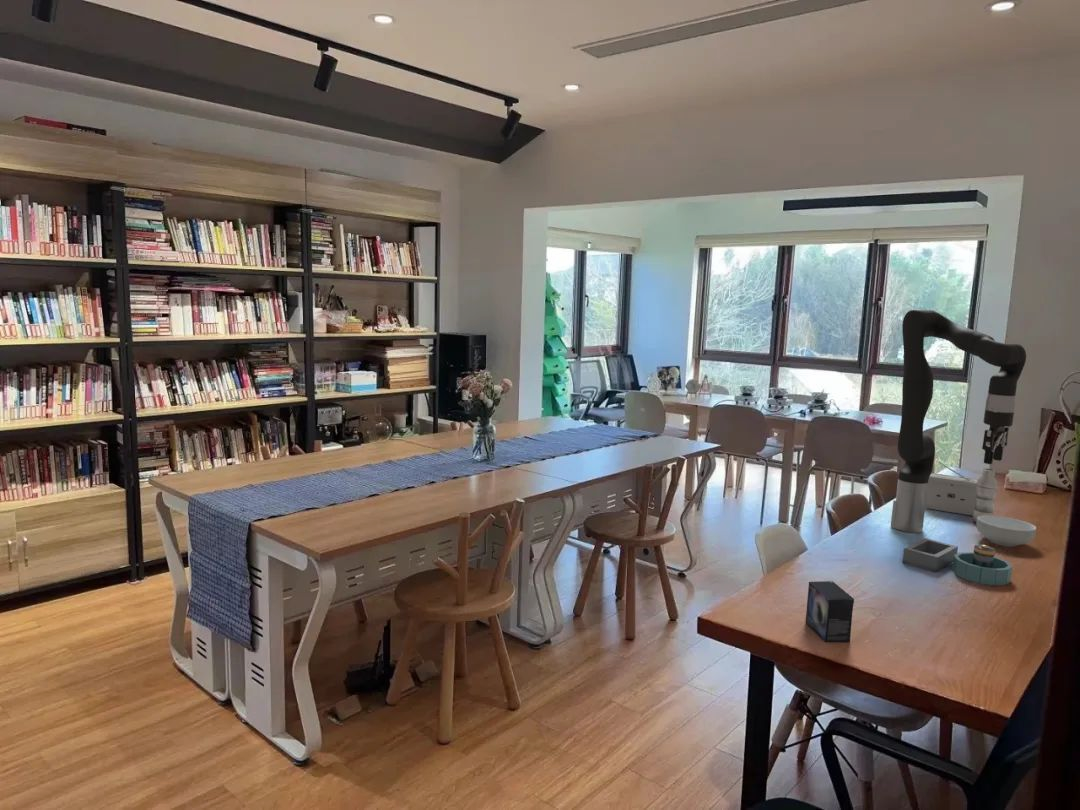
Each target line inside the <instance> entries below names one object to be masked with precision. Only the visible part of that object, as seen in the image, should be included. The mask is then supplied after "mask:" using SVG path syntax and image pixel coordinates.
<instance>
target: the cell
mask: <svg viewBox="0 0 1080 810" xmlns="http://www.w3.org/2000/svg"><path fill="white" fill-rule="evenodd" d="M995 552H996V548H994V547H992V546H989V545H986V544H975V545H974V546H973V553H974V554H973V562H972V564H973V565H976V566H980V567H986V568H992V567H993V560H994V557H995Z"/></svg>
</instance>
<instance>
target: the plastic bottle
mask: <svg viewBox="0 0 1080 810" xmlns="http://www.w3.org/2000/svg"><path fill="white" fill-rule="evenodd" d="M981 474H982V475H981V476H980V477H979V478H977V479H978V480H977V482H976V485H977V486H976V488H977V498H976V504H975V510H974V511H973V515H972V520H973V523H977V517H979V516H985V515H988V516H995V515H994V507H995V506H994V503H995V499H996V494H997V490H998V486H999V485H998V482H997V480H996V478H995V476H996V470H995V469H992V468H985V467H984V468H983V469H982V472H981Z"/></svg>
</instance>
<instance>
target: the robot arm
mask: <svg viewBox="0 0 1080 810" xmlns="http://www.w3.org/2000/svg"><path fill="white" fill-rule="evenodd" d="M901 325H902V327H901V328H902V331H901V332H902V344H903V375H902V388H901V389H902V394H901V396H902V397H901V399H902V400H901V420H900V429H899V433H898V434H899V435H898V440H897V451H898V455H899V457H900V458H901V460H903V461H905V462H904V465H903V466H902V467H901V469H900V470H899V471H898V477H897V487H896V496H895V499H894V500H893V502H892V508H891V509H892V511H891V520H890V527H891V528H893V529H896V530H897V531H900V532H905V533H911V534H912V533H913V534H917V533H922V532H923V531H924V530H923V528H924V520H925V514H926V508H925V505H926V497H927V488H928V480H929V477H930V475H931V473H933V467H934V461H935V455H936V454H935V453H936V446H935V442H934V440H933V438H932V437H930V435H927V434H925V433H924V421H925V418H926V415H927V412H928V410H929V408H930V405H931V403H932V400H933V396H934V374H933V372H932V369H931V366H930V364H929V361H928V360H927V357H926V355H925V351H924V350H925V349H924V347H925V346H924V343H925V341H924V340H925V338H929V337H930V338H938V339H942V340H945V341H948V342H950V343H952V344H953V346H954V347H956V348H957V349H959V350H961V351H963V352H966V353H968V354H970V355H973V356H975V357H978V358H980V359H981V360H982V361H984V362H986V363H987V364H989V365H992V366H994V367H999V371H998V372H997V373H996V374H994V375H991V377H990V379H989V383H988V391H987V397H986V401H985V408H984V417H983V423H984V424H985V425H988V426H989V429H985V430H984V433H983V441H982V447H981V449H982V450H984V455H983V456H984V457H983V463H984V464H987V465H992V464H993V462H994V461H999V462H1000V461H1002V460H1003V455H1004V449H1005V448H1006V447H1007V446H1008V437H1009V429H1010V428H1009V427H1012V426H1013V424H1014V416H1015V408H1016V393H1017V386H1018V385H1017V384H1018V381H1019V379H1020V377H1021V374H1022V372H1023V369H1024V367H1025V365H1026V361H1027V353H1026V352H1027V351H1026V349H1025V348H1024V346H1022V344H1019V343H1010V342H1008V343H1006V342H998V341H996V340H995V338H993V336H990V335H988V334H986V333H983V332H980V331H977V330H974V329H971V328H968V327H965V326H963V325H961V324H959V323H957V322H956V321H953V320H951V319H949V318H947V317H946V316H944V315H943V314H941V313H940V312H938V311H935V310H933V309H923V308H921V309H916V308H915V309H911V310H908V311H907V312H906V313H905V315H904V316H903V319H902V324H901Z"/></svg>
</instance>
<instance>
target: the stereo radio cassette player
mask: <svg viewBox="0 0 1080 810" xmlns="http://www.w3.org/2000/svg"><path fill="white" fill-rule="evenodd" d="M934 461H935V462H937V463H938V464H941V465H942V466H943V467H944V468H946V469H948V470H949V471H951V472H952V473H955V474H956V475H958V476H956V475H950V474H942V473H937V472H936V473H934V472H931V475H930V477H929V480H928V488H927V497H926V505H925V510H927V509H929V510H936V511H941V512H949V513H953V514H960V515H965V516H972V515H973V511H974V510H975V504H976V498H977V488H976V486H977V485H976V482H977V480H978V479H979V478H972V477H971V478H970V477H965V476H963V475H962V474H960V473H959V472H957V471H955V470H954V469H952V468H951V467H949V466H946V465H945V464H943V463H942V462H940V461H938V460H936V459H934ZM972 517H973V516H972Z"/></svg>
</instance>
